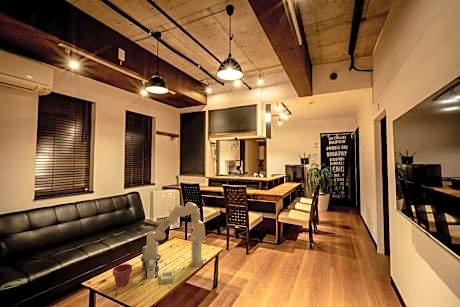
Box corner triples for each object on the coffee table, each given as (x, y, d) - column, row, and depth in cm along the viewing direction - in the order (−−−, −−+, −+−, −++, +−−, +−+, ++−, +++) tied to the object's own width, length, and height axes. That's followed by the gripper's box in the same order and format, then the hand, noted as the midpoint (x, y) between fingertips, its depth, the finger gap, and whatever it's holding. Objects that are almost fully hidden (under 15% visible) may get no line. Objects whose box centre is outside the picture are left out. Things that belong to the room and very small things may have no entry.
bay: (158, 271, 198) (158, 265, 198) (157, 277, 187) (157, 271, 187) (145, 272, 195) (145, 267, 195) (143, 279, 185) (143, 273, 185)
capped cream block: (154, 272, 195) (155, 263, 195) (153, 277, 188) (154, 267, 188) (148, 273, 194) (148, 263, 194) (147, 278, 186) (147, 267, 187)
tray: (173, 274, 191) (173, 271, 191) (172, 281, 180) (173, 278, 180) (161, 276, 189) (161, 272, 189) (160, 283, 178) (160, 279, 178)
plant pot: (127, 277, 188) (127, 261, 188) (135, 282, 179) (135, 267, 179) (109, 284, 177) (109, 268, 177) (117, 291, 168) (117, 274, 168)
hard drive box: (149, 270, 199) (149, 248, 199) (141, 269, 200) (141, 247, 201) (158, 262, 214) (158, 242, 215) (151, 261, 216) (151, 241, 216)
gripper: (161, 244, 197) (161, 263, 196) (141, 245, 193) (140, 265, 193) (161, 247, 190) (160, 267, 189) (139, 248, 186) (139, 269, 185)
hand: (150, 266), depth 191 cm, fingers open, 9 cm apart
